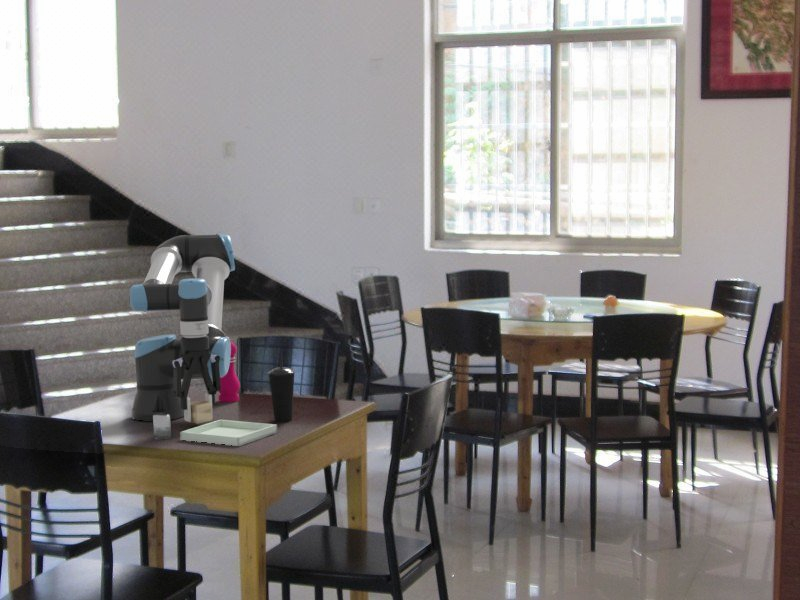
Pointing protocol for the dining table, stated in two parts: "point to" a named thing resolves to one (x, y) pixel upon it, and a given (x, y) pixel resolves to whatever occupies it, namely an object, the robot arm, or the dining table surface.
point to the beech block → (200, 411)
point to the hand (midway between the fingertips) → (198, 418)
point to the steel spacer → (162, 426)
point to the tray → (229, 432)
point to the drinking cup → (282, 391)
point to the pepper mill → (230, 381)
